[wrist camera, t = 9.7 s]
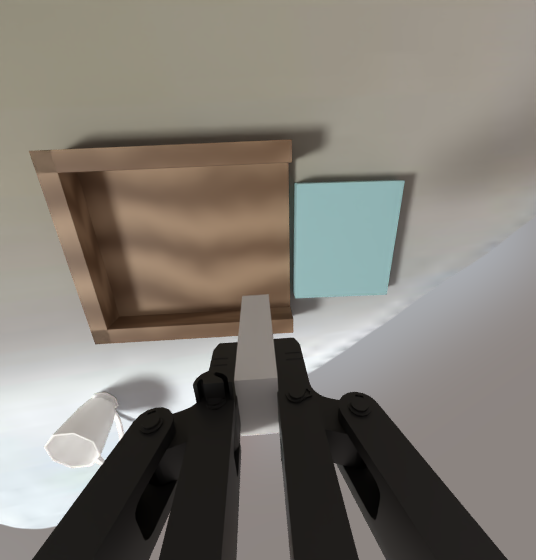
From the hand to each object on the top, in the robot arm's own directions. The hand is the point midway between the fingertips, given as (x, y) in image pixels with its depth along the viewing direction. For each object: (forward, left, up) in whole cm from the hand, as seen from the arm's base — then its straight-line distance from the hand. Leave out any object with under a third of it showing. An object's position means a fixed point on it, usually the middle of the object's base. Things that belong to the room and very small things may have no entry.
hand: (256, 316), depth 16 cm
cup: (+27, -25, -20) cm, 41 cm away
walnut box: (+1, -8, -20) cm, 21 cm away
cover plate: (+1, +11, -20) cm, 23 cm away
